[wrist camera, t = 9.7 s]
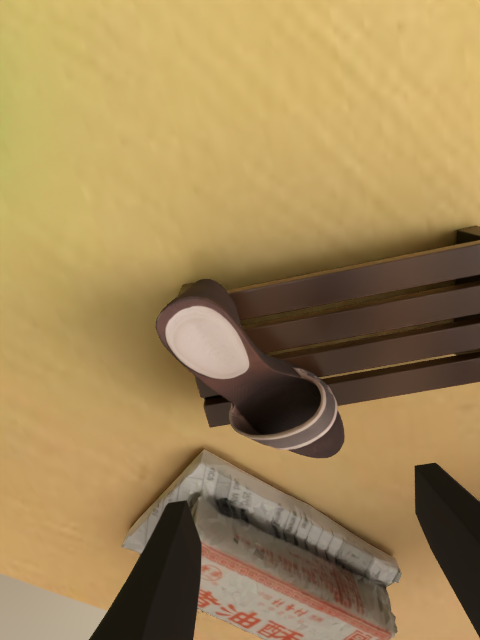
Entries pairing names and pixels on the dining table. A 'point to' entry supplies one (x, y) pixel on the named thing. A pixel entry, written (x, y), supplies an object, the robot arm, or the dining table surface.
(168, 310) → the heeled mule
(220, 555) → the packaged product
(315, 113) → the dining table surface
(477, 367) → the slatted bench
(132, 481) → the dining table surface
